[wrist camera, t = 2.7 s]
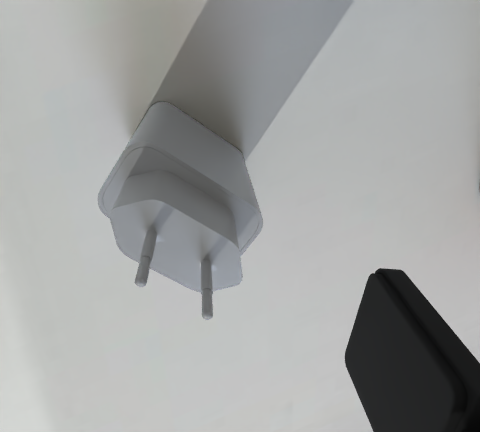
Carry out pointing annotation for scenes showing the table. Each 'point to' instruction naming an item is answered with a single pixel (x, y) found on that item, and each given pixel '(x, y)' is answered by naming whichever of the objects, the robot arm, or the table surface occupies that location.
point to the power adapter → (182, 203)
